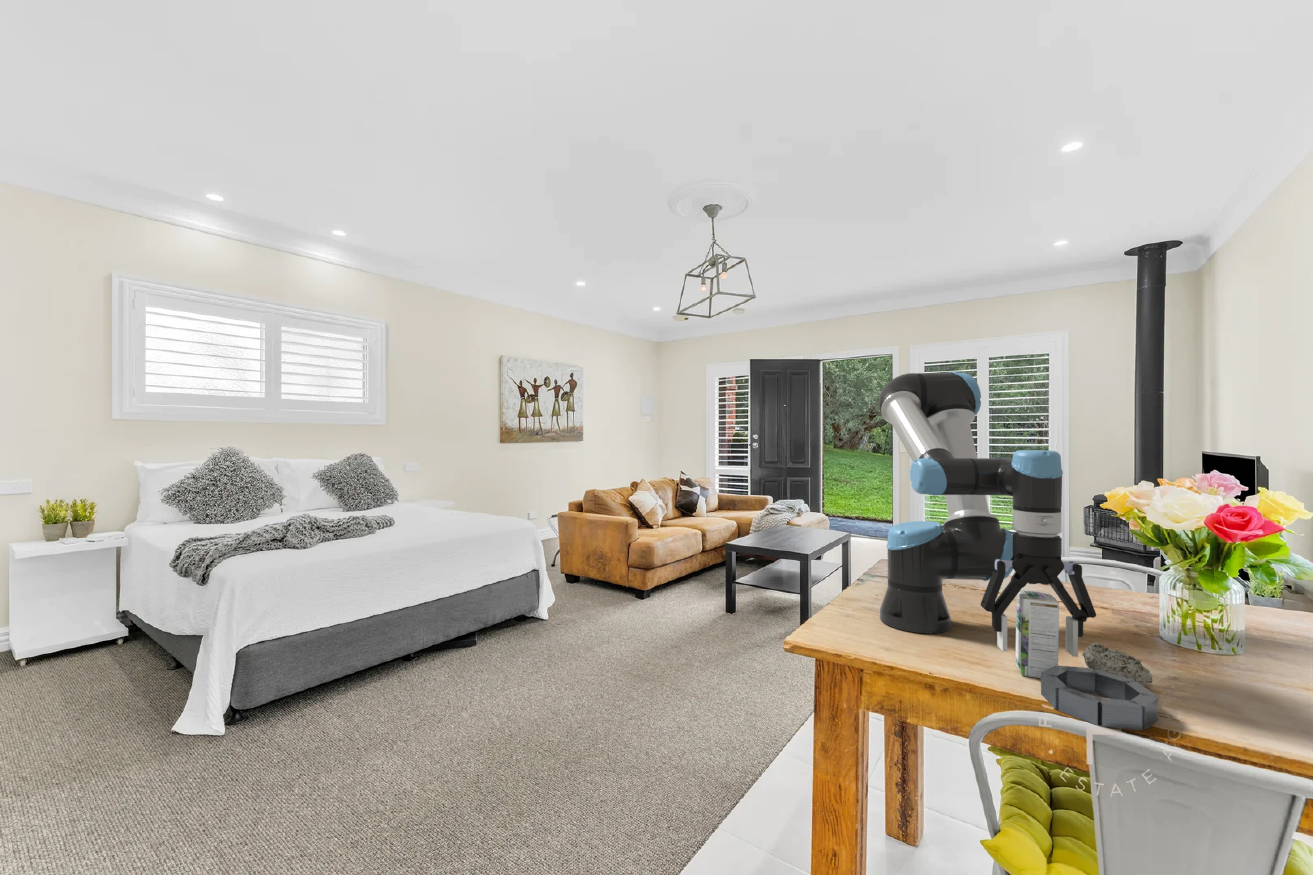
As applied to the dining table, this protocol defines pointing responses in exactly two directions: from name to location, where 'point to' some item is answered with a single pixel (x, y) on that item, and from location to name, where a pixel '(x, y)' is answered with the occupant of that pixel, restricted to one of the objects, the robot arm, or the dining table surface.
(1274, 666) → the dining table surface
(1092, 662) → the rock sample
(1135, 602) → the dining table surface
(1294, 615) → the dining table surface
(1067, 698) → the collar
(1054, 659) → the syrup box
